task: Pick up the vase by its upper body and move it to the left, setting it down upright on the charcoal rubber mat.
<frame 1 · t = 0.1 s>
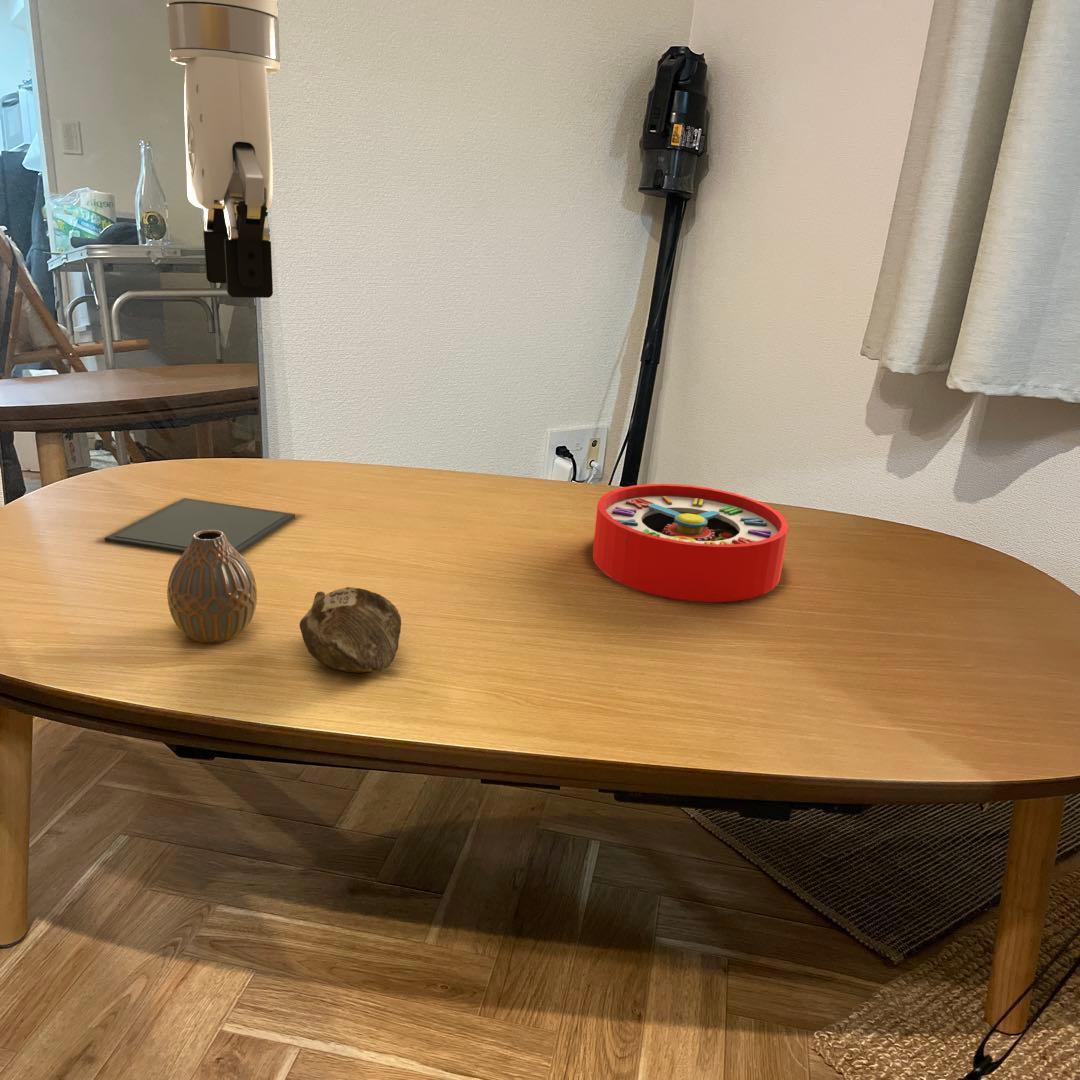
hand: (238, 289, 70), 27 cm above the table, tool pointing down, fingers open, 9 cm apart
fossilized seashell: (349, 658, 73), on the table
vase: (215, 634, 75), on the table
mat: (205, 529, 97), on the table
toy clock: (684, 565, 97), on the table
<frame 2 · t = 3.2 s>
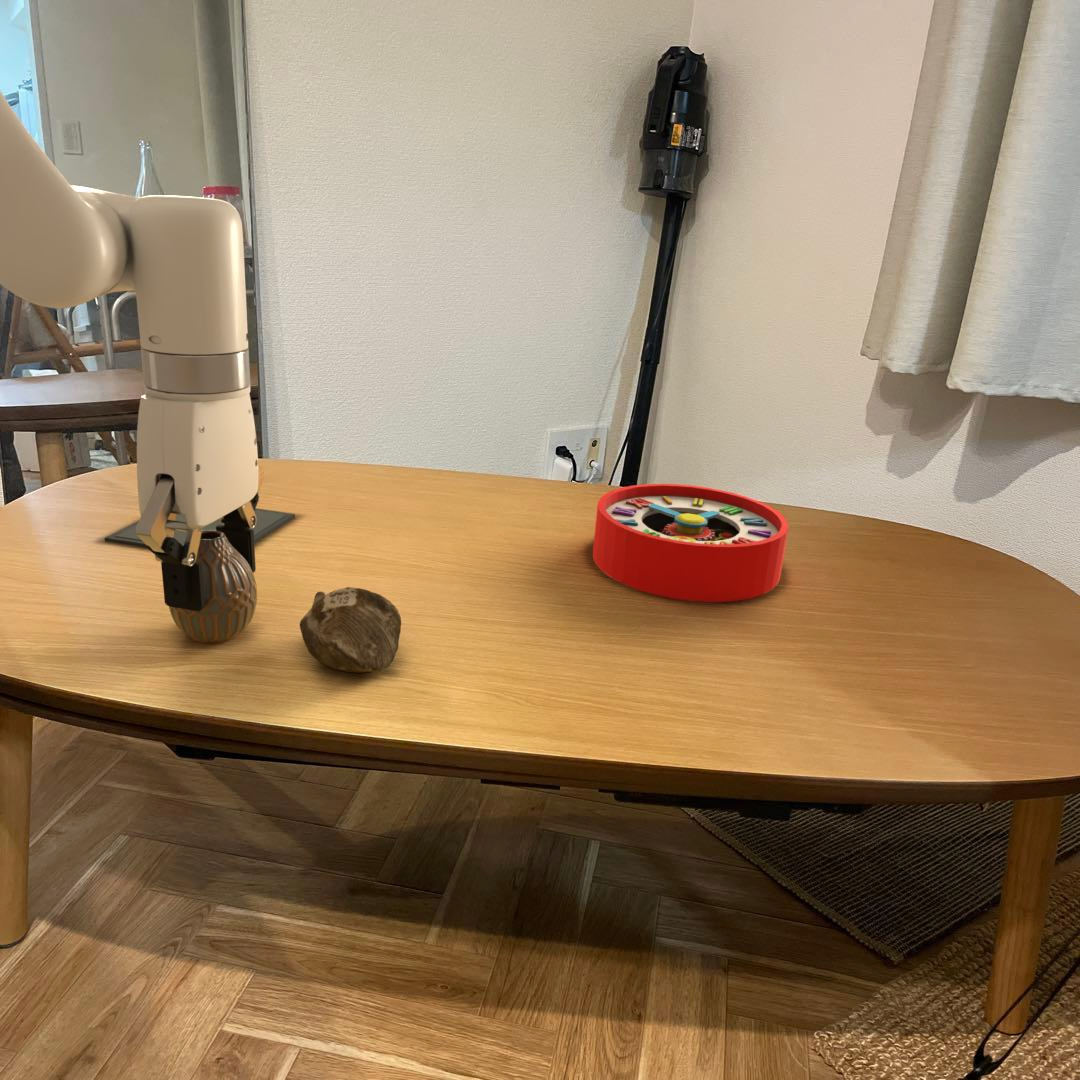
hand: (212, 587, 74), 4 cm above the table, tool pointing down, fingers closed on vase, 6 cm apart
vase: (215, 634, 75), on the table, touching gripper
everything else where it was.
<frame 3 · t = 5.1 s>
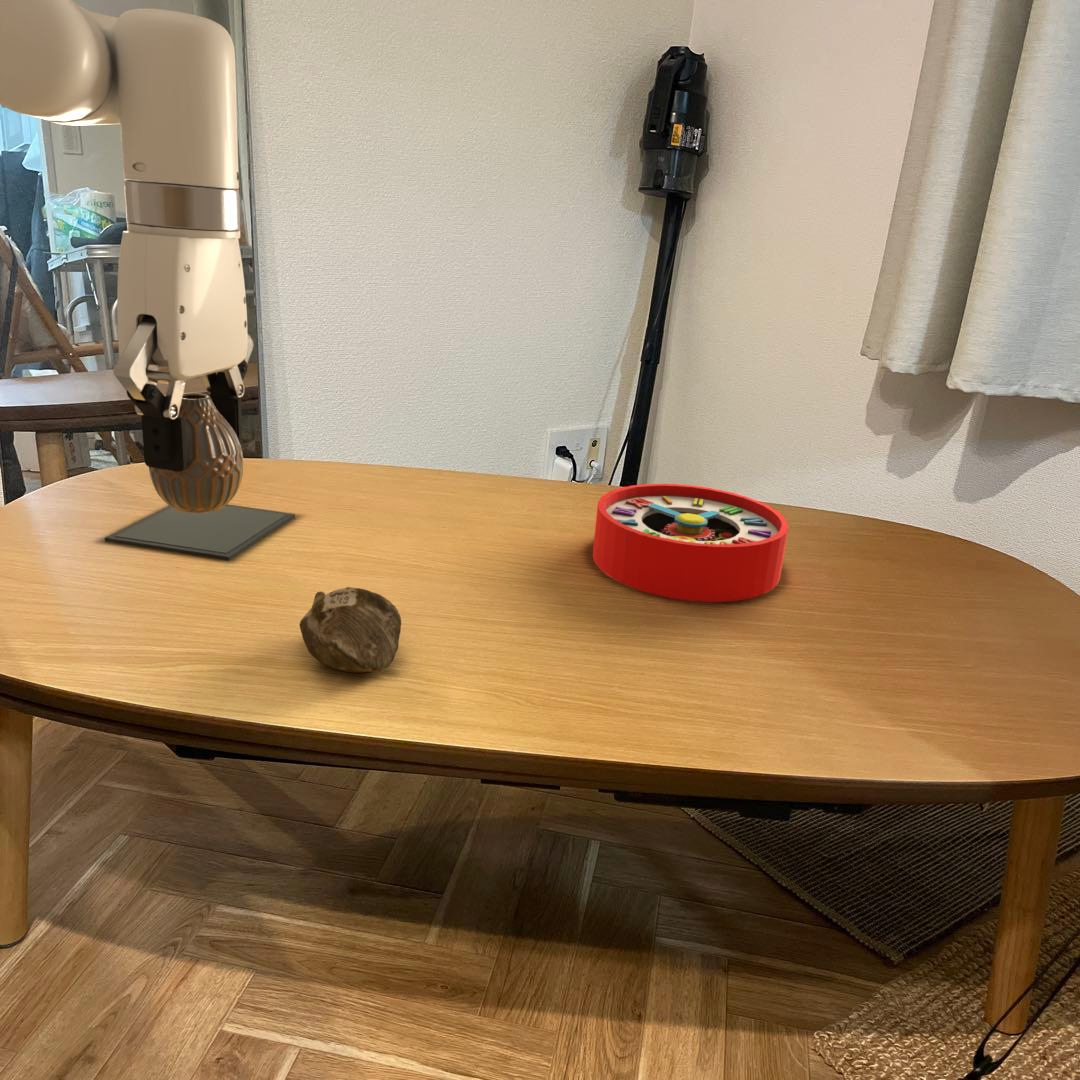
hand: (196, 454, 70), 15 cm above the table, tool pointing down, fingers closed on vase, 6 cm apart
vase: (198, 507, 71), point 11 cm above the table, touching gripper
everything else where it was.
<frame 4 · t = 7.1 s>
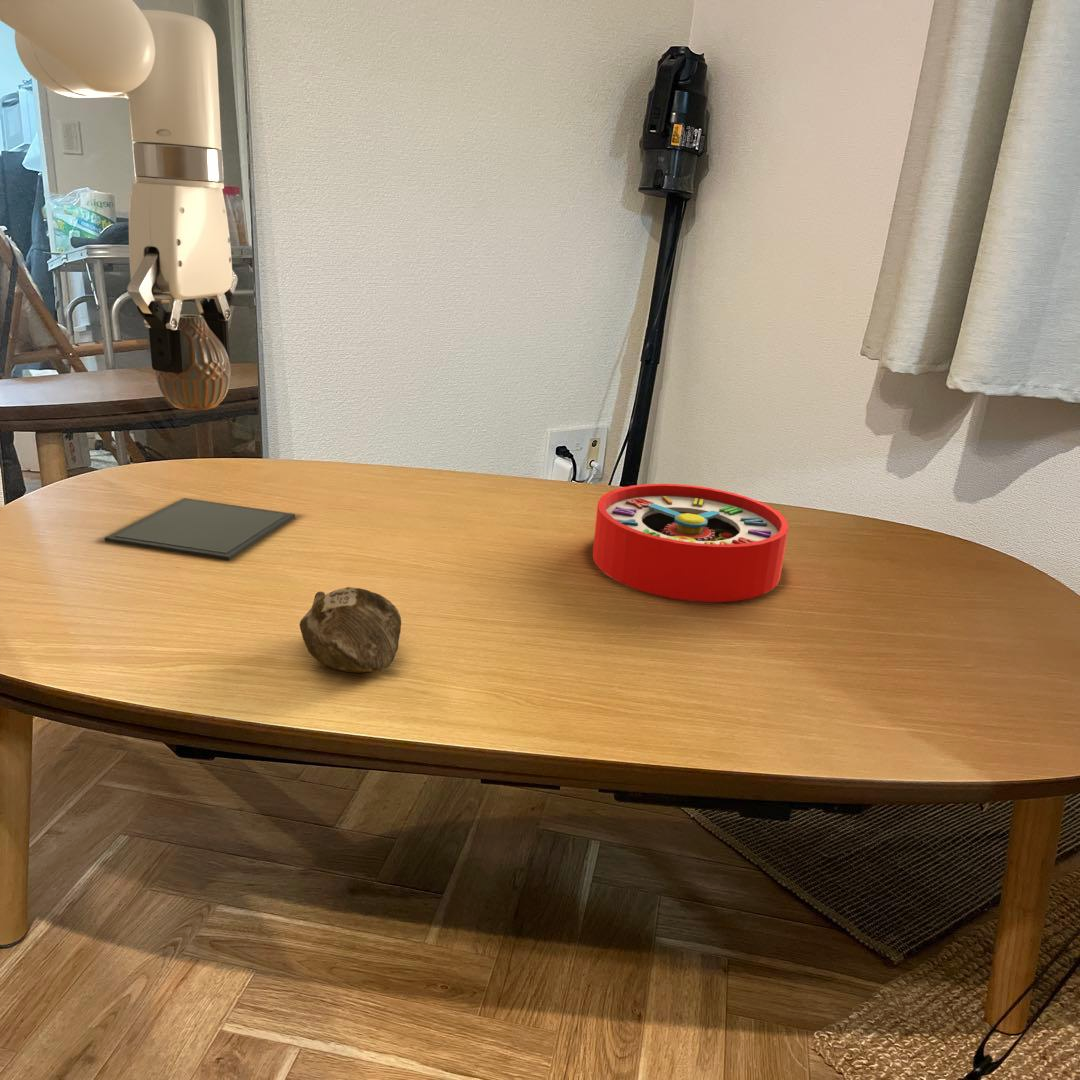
hand: (192, 363, 88), 18 cm above the table, tool pointing down, fingers closed on vase, 6 cm apart
vase: (195, 407, 89), point 14 cm above the table, touching gripper
everything else where it was.
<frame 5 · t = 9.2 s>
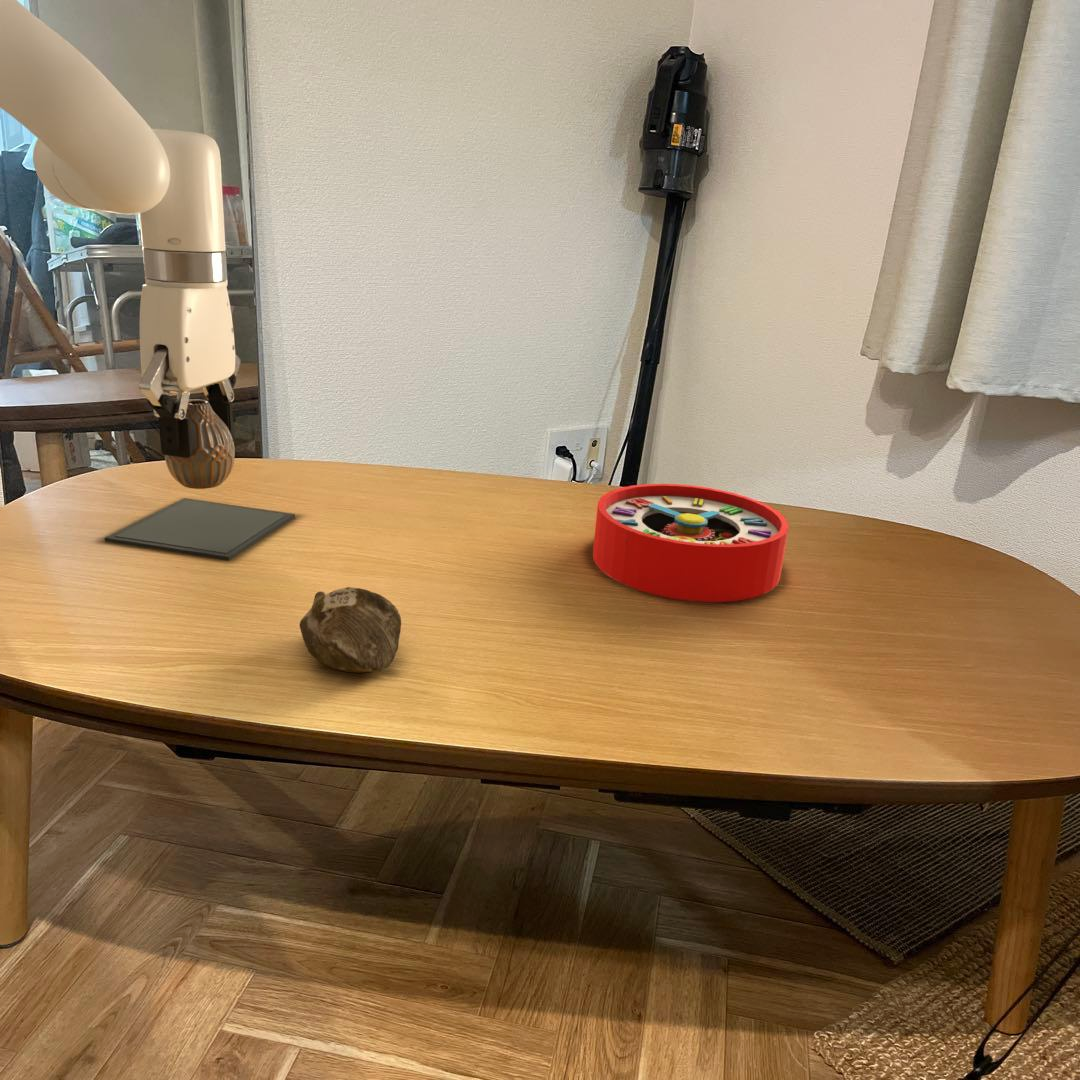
hand: (198, 445, 94), 9 cm above the table, tool pointing down, fingers closed on vase, 6 cm apart
vase: (202, 485, 95), point 5 cm above the table, touching gripper
everything else where it was.
when the fingers open (5 cm above the table, at t = 10.9 s): vase stays where it is, resting on mat.
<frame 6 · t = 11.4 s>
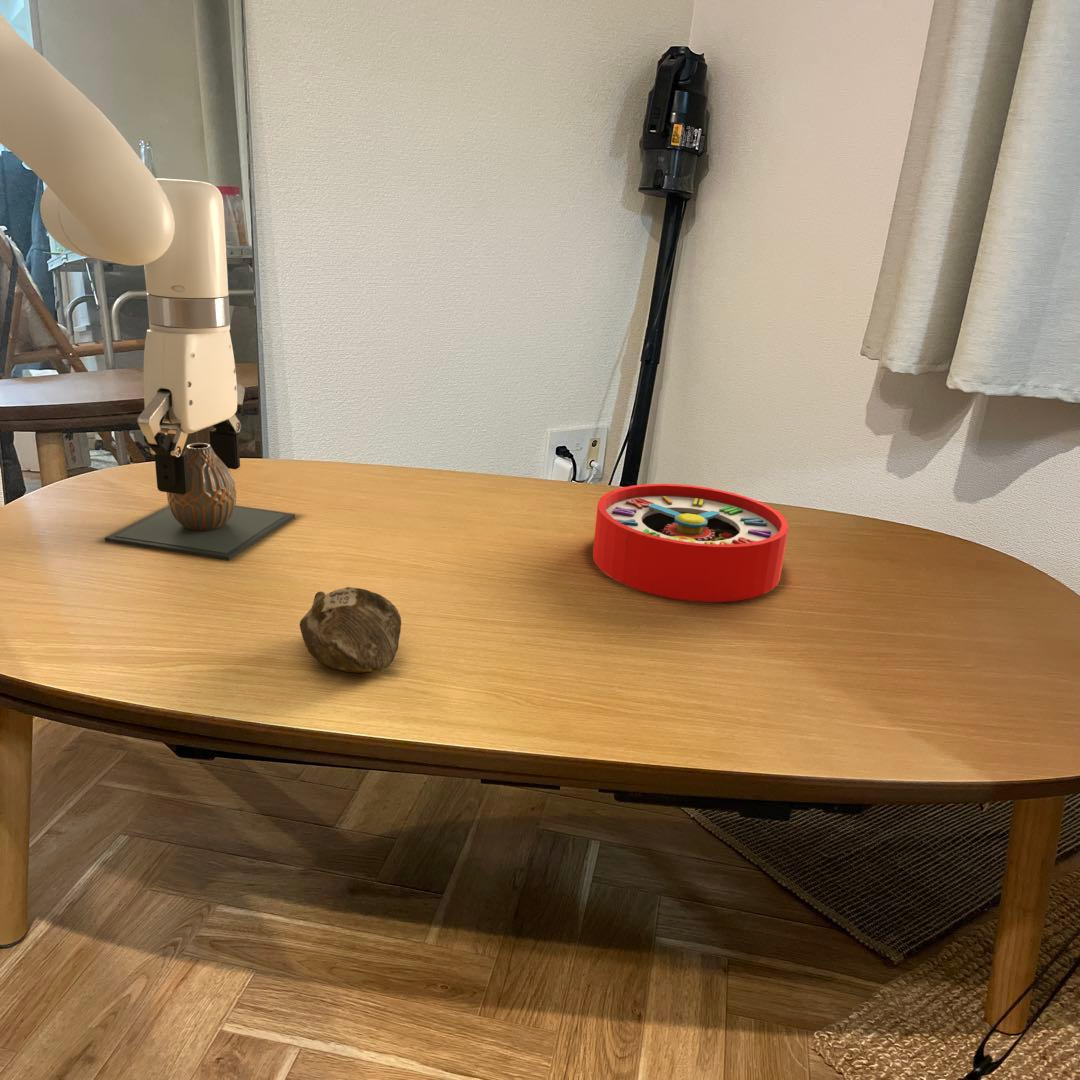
hand: (200, 479, 95), 6 cm above the table, tool pointing down, fingers open, 9 cm apart
vase: (204, 526, 97), resting on mat
everything else where it was.
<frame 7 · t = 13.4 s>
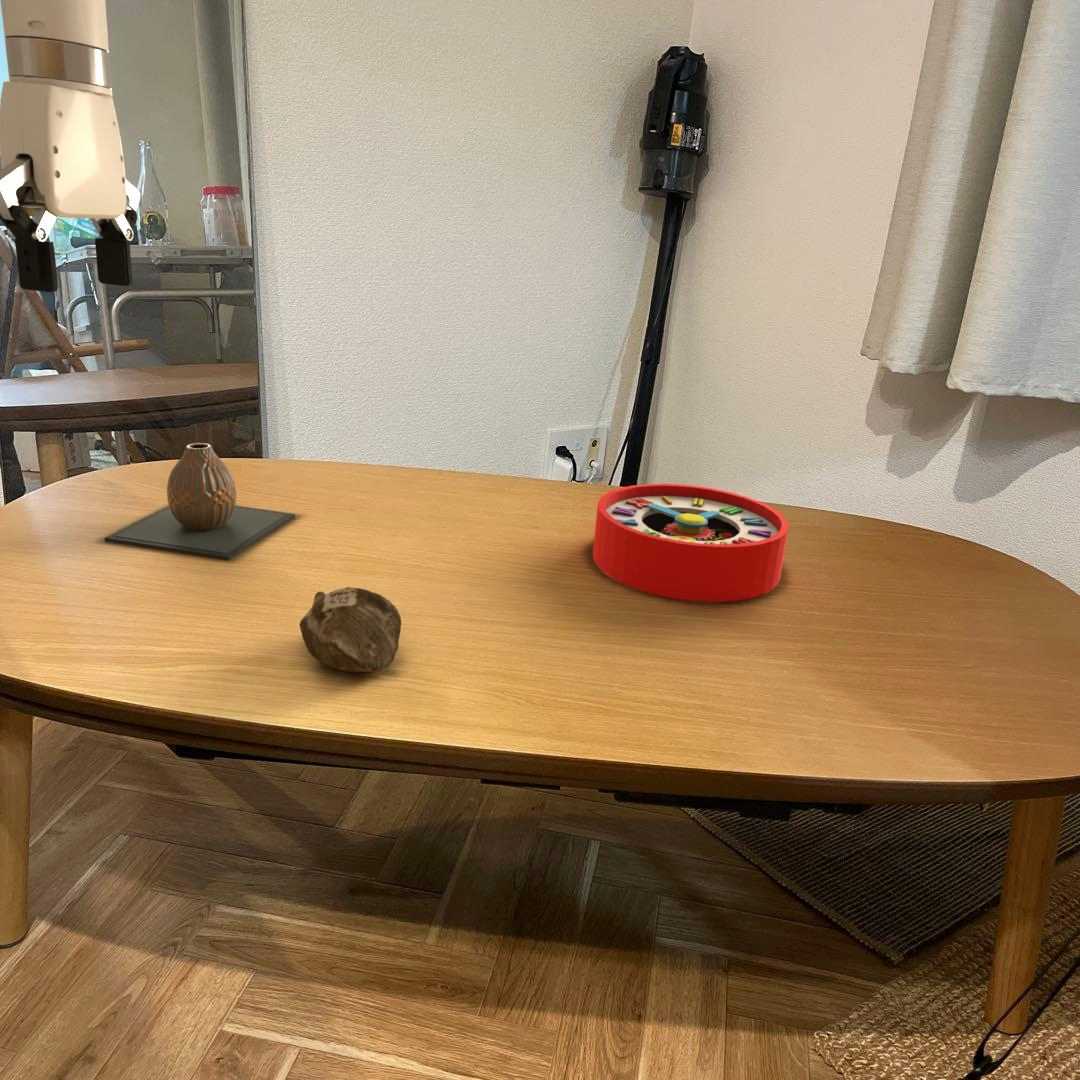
hand: (79, 287, 79), 26 cm above the table, tool pointing down, fingers open, 9 cm apart
nothing on the table moved.
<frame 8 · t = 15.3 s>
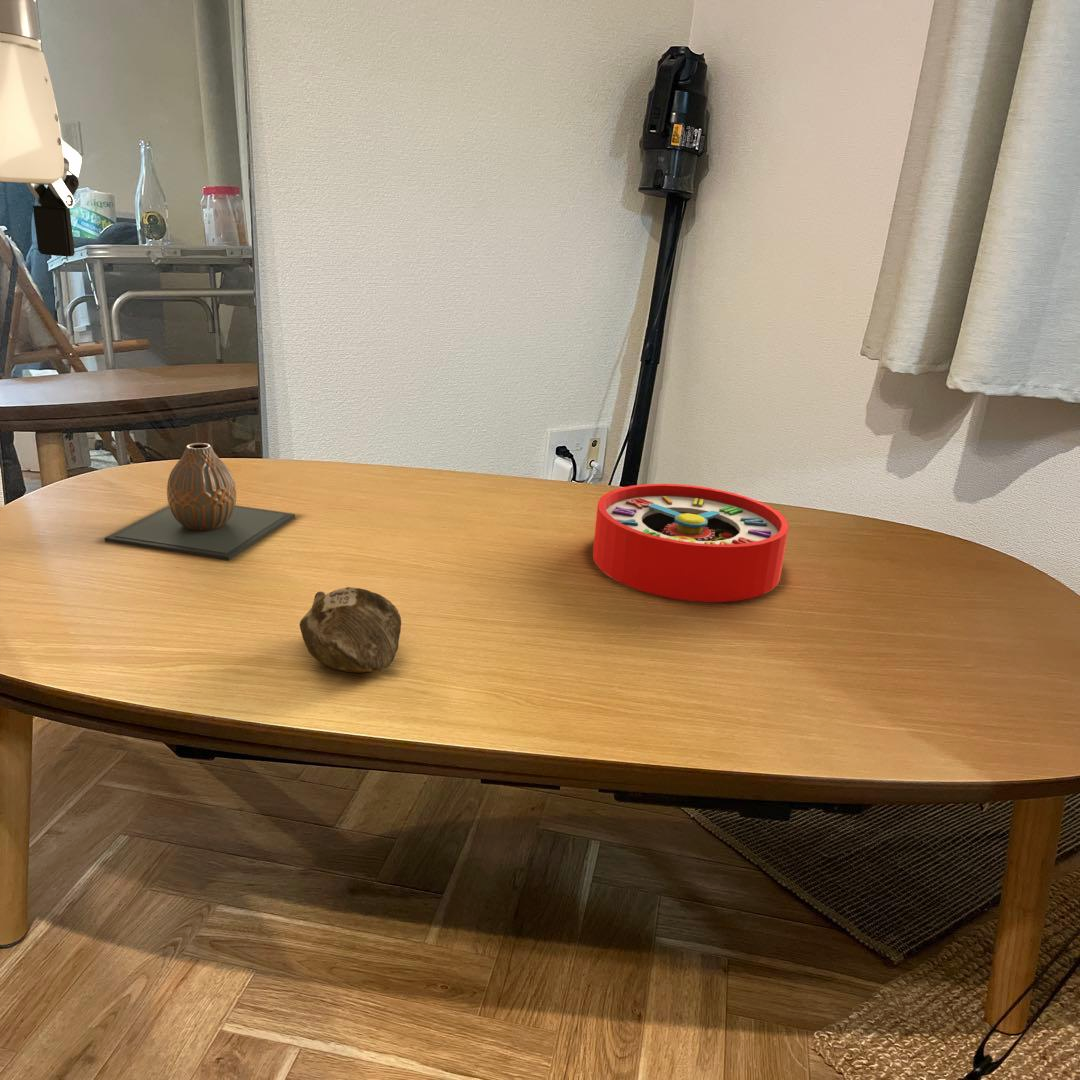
hand: (14, 257, 74), 28 cm above the table, tool pointing down, fingers open, 9 cm apart
nothing on the table moved.
at the end: vase inside the target area on the mat (0.1 cm from its centre), point 0.4 cm above the mat's base; vase tilted 0°; the gripper is holding nothing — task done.
